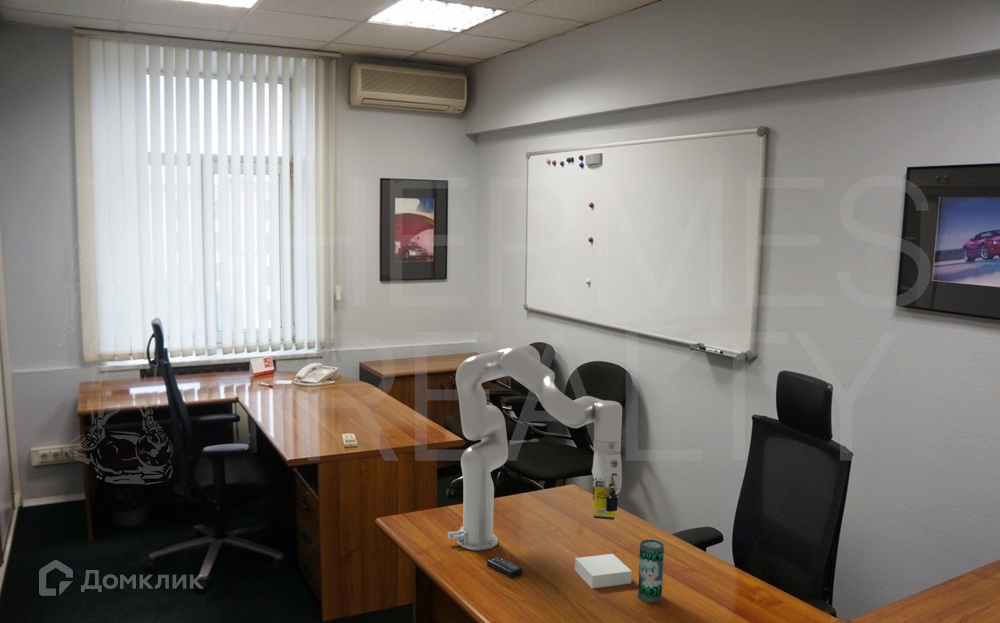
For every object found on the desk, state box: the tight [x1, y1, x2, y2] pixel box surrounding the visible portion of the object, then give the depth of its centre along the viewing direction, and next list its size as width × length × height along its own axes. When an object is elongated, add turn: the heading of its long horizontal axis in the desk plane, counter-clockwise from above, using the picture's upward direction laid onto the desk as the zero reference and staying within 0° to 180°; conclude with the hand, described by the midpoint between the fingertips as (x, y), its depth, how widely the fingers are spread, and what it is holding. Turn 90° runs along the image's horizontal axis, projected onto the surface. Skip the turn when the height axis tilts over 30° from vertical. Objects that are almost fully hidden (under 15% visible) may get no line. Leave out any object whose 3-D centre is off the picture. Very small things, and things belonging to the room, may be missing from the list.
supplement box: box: [593, 477, 616, 521], centre depth 217 cm, size 6×6×11 cm
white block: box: [574, 553, 633, 589], centre depth 219 cm, size 12×12×4 cm
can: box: [637, 538, 665, 604], centre depth 207 cm, size 6×6×15 cm
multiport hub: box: [486, 555, 524, 580], centre depth 222 cm, size 4×11×2 cm, turn 42°
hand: (604, 505), depth 217 cm, fingers closed on supplement box, 7 cm apart
